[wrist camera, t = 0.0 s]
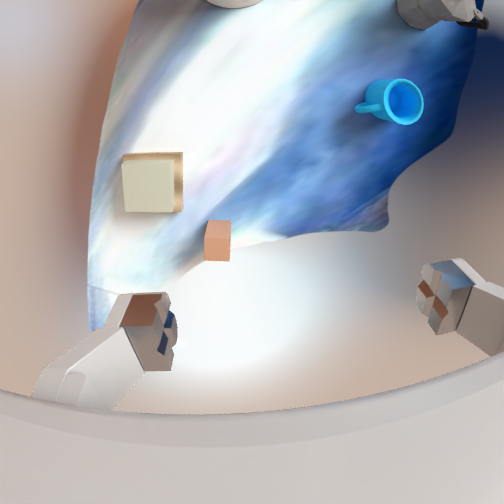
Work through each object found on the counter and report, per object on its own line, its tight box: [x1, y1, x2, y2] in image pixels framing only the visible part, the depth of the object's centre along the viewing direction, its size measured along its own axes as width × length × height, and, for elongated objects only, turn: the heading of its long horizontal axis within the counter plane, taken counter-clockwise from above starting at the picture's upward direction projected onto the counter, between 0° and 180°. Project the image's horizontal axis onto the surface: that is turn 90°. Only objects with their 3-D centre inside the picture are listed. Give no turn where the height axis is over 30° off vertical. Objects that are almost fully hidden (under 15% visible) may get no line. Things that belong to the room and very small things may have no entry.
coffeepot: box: [396, 0, 489, 30], centre depth 30 cm, size 15×9×18 cm, turn 72°
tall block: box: [204, 220, 231, 261], centre depth 57 cm, size 4×4×8 cm
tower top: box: [121, 159, 175, 213], centre depth 51 cm, size 9×9×3 cm
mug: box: [355, 79, 424, 125], centre depth 45 cm, size 12×8×8 cm
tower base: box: [123, 152, 183, 212], centre depth 54 cm, size 11×11×3 cm
